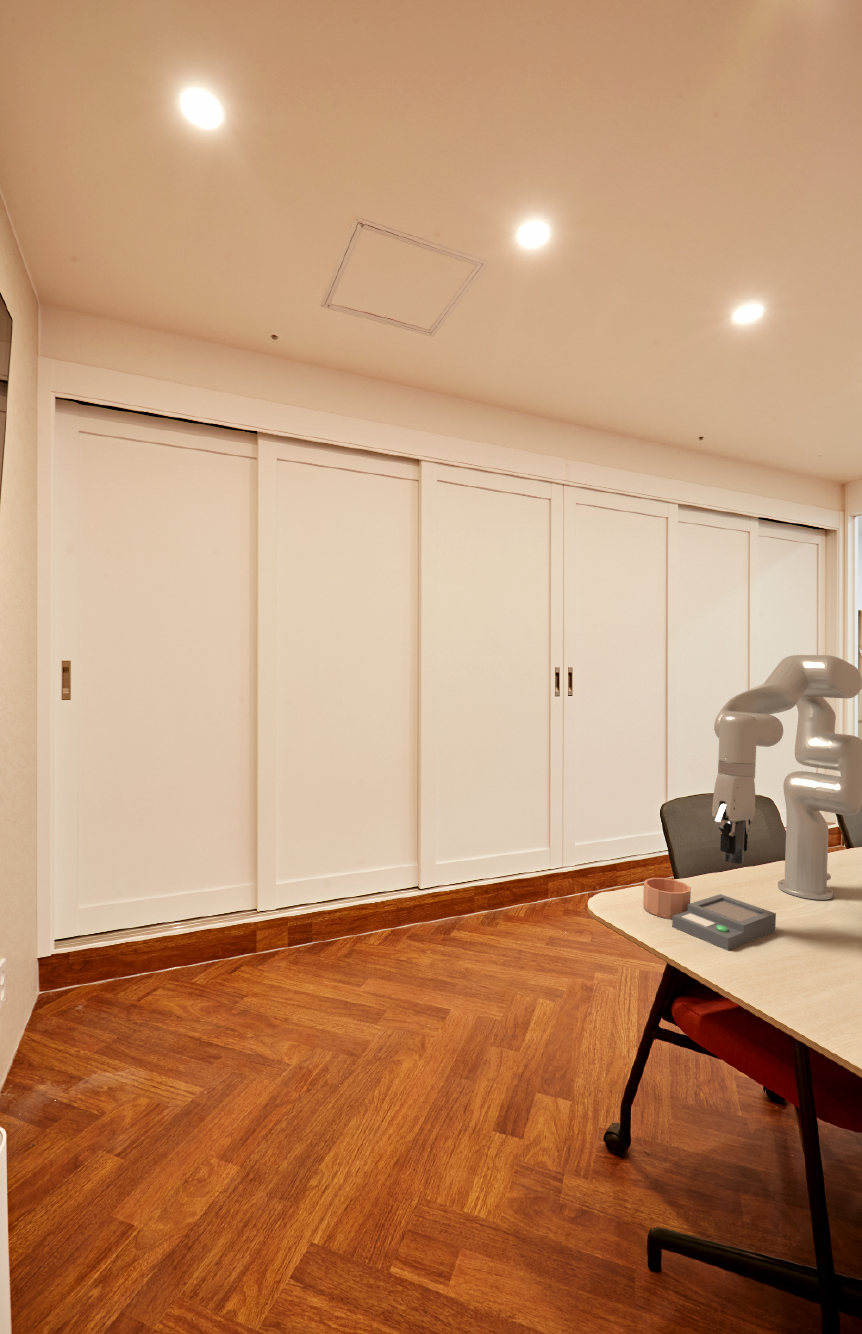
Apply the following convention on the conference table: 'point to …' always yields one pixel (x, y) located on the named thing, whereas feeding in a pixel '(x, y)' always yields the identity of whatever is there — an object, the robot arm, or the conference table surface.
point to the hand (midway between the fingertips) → (733, 850)
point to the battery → (737, 844)
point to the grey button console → (724, 923)
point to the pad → (731, 910)
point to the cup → (665, 897)
